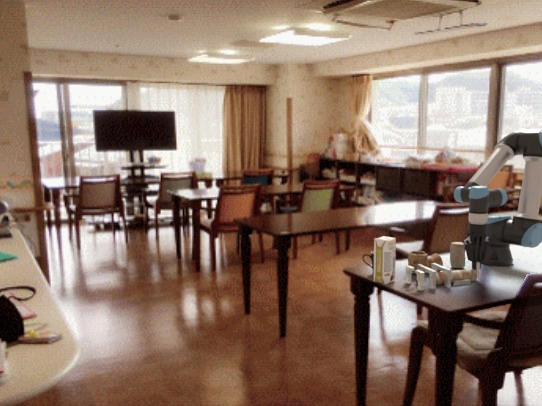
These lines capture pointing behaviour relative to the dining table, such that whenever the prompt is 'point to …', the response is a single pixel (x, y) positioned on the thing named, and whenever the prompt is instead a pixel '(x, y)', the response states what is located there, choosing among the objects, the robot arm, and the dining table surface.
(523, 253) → the dining table surface
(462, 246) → the carving
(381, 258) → the juice carton
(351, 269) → the dining table surface
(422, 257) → the pipe
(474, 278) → the dowel
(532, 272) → the dining table surface
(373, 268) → the coffee mug
